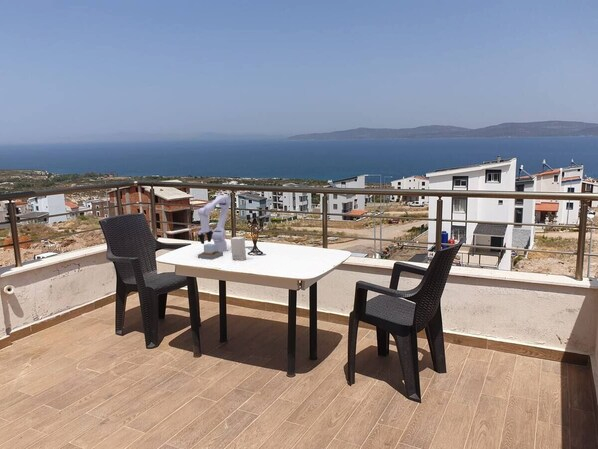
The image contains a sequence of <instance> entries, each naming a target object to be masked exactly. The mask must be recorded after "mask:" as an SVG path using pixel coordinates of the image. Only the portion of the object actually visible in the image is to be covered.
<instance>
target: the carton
mask: <svg viewBox="0 0 598 449" xmlns="http://www.w3.org/2000/svg"><path fill="white" fill-rule="evenodd" d="M215 251H216V244H214V243H204V244H203V252H211V253H212V252H215Z"/></svg>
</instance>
